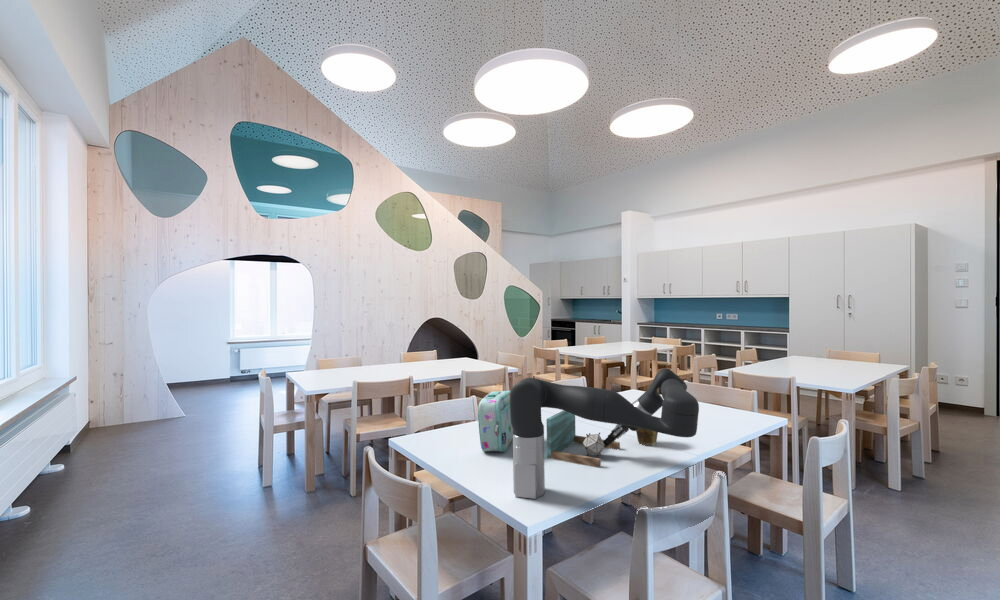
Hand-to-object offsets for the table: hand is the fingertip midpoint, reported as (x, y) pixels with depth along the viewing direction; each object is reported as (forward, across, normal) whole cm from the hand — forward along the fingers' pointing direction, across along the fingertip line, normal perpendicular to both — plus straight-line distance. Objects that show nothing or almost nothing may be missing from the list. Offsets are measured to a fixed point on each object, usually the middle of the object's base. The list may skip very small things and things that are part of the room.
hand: (604, 444), depth 164 cm
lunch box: (+31, -10, +26) cm, 41 cm away
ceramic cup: (-2, +23, -9) cm, 24 cm away
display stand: (+7, -1, +2) cm, 8 cm away
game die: (+4, -4, -1) cm, 6 cm away
